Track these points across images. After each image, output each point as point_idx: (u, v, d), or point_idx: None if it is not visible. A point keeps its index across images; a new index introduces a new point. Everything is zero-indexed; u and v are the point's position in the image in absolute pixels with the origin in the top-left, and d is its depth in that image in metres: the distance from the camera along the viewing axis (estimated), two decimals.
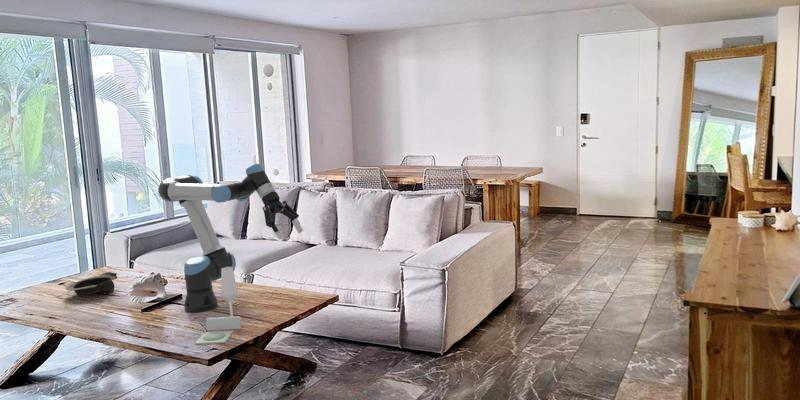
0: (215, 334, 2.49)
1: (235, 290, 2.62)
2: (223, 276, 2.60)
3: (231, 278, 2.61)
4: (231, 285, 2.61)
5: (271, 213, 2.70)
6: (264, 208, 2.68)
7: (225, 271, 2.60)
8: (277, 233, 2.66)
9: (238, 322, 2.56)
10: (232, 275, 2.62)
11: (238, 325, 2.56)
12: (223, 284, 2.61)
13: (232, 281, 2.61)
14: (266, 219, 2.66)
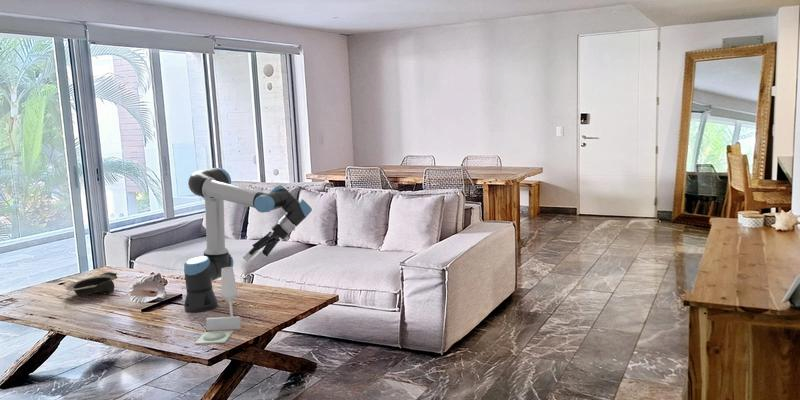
0: (215, 334, 2.49)
1: (235, 290, 2.62)
2: (223, 276, 2.60)
3: (231, 278, 2.61)
4: (231, 285, 2.61)
5: None
6: (270, 234, 2.67)
7: (225, 271, 2.60)
8: (248, 254, 2.65)
9: (238, 322, 2.56)
10: (232, 275, 2.62)
11: (238, 325, 2.56)
12: (223, 284, 2.61)
13: (232, 281, 2.61)
14: (260, 241, 2.65)
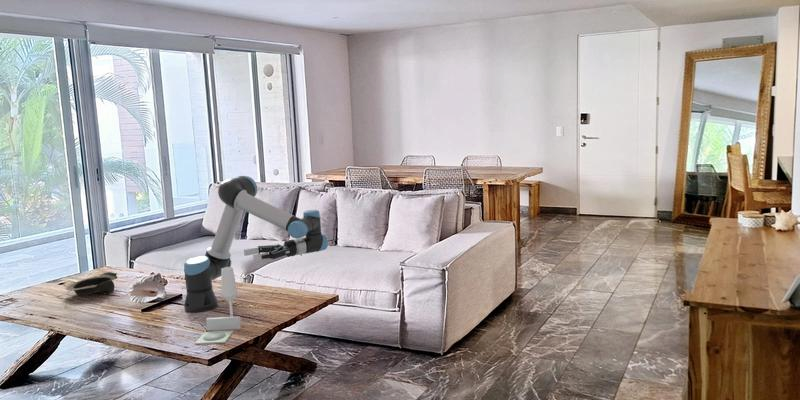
0: (215, 334, 2.49)
1: (235, 290, 2.62)
2: (223, 276, 2.60)
3: (231, 278, 2.61)
4: (231, 285, 2.61)
5: (278, 251, 2.69)
6: (287, 251, 2.68)
7: (225, 271, 2.60)
8: (259, 256, 2.62)
9: (238, 322, 2.56)
10: (232, 275, 2.62)
11: (238, 325, 2.56)
12: (223, 284, 2.61)
13: (232, 281, 2.61)
14: (278, 254, 2.64)
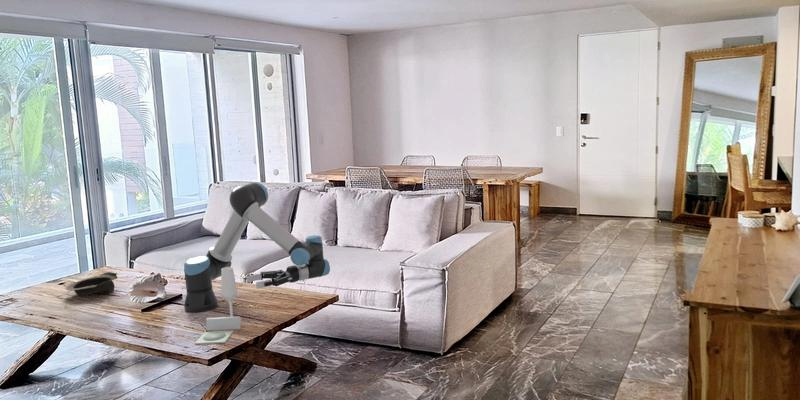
0: (215, 334, 2.49)
1: (235, 290, 2.62)
2: (223, 276, 2.60)
3: (231, 278, 2.61)
4: (231, 285, 2.61)
5: (281, 277, 2.71)
6: (290, 278, 2.70)
7: (225, 271, 2.60)
8: (262, 283, 2.63)
9: (238, 322, 2.56)
10: (232, 275, 2.62)
11: (238, 325, 2.56)
12: (223, 284, 2.61)
13: (232, 281, 2.61)
14: (280, 281, 2.65)
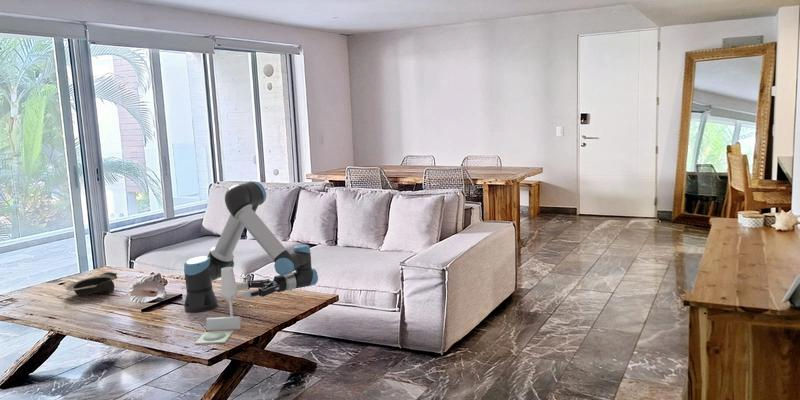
0: (215, 334, 2.49)
1: (235, 290, 2.62)
2: (223, 276, 2.60)
3: (231, 278, 2.61)
4: (231, 285, 2.61)
5: (268, 287, 2.68)
6: (277, 288, 2.67)
7: (225, 271, 2.60)
8: (249, 293, 2.60)
9: (238, 322, 2.56)
10: (232, 275, 2.62)
11: (238, 325, 2.56)
12: (223, 284, 2.61)
13: (232, 281, 2.61)
14: (267, 291, 2.62)
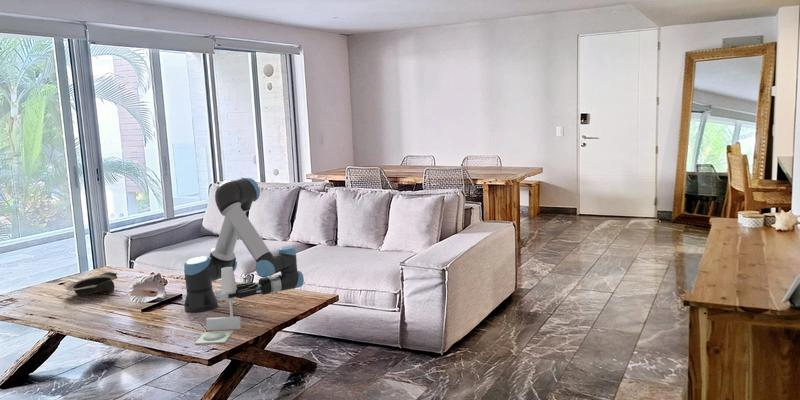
0: (215, 334, 2.49)
1: (235, 290, 2.62)
2: (223, 276, 2.60)
3: (231, 278, 2.61)
4: (231, 285, 2.61)
5: (250, 290, 2.65)
6: (258, 291, 2.64)
7: (225, 271, 2.60)
8: (226, 295, 2.59)
9: (238, 322, 2.56)
10: (232, 275, 2.62)
11: (238, 325, 2.56)
12: (223, 284, 2.61)
13: (232, 281, 2.61)
14: (245, 293, 2.61)
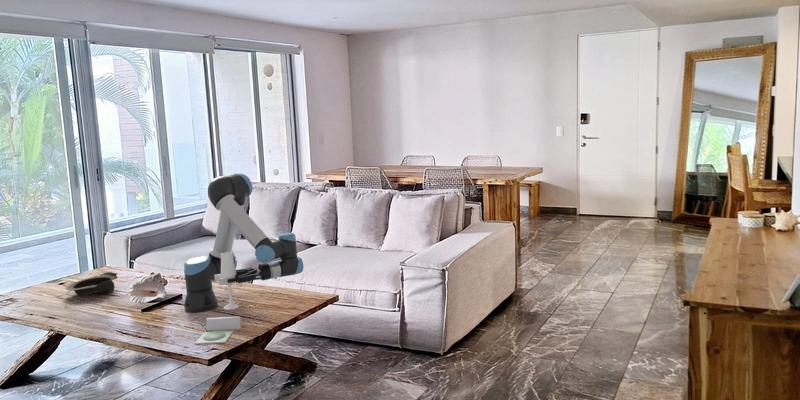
0: (215, 334, 2.49)
1: (234, 275, 2.61)
2: (222, 261, 2.59)
3: (231, 263, 2.60)
4: (230, 270, 2.60)
5: (249, 275, 2.64)
6: (257, 276, 2.62)
7: (225, 256, 2.59)
8: (225, 280, 2.58)
9: (238, 322, 2.56)
10: (232, 260, 2.60)
11: (238, 325, 2.56)
12: (222, 269, 2.59)
13: (231, 266, 2.60)
14: (245, 278, 2.59)
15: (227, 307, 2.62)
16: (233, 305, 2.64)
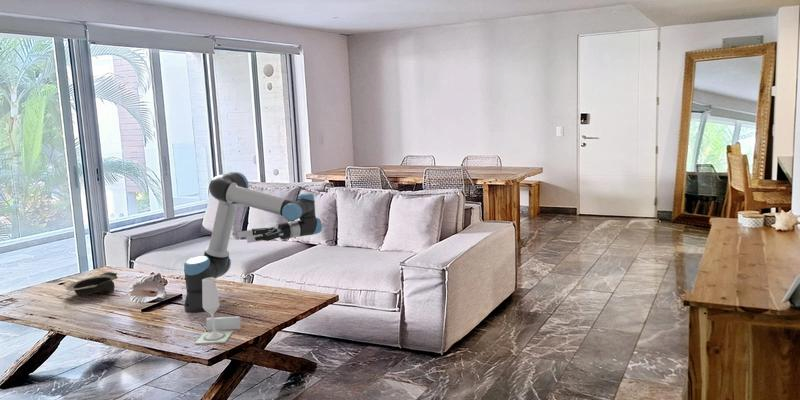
0: None
1: (217, 303, 2.43)
2: (204, 288, 2.41)
3: (213, 290, 2.42)
4: (213, 297, 2.42)
5: None
6: (281, 234, 2.68)
7: (206, 282, 2.41)
8: (253, 237, 2.62)
9: (238, 322, 2.56)
10: (214, 286, 2.43)
11: (238, 325, 2.56)
12: (204, 296, 2.42)
13: (214, 293, 2.42)
14: (271, 236, 2.64)
15: (210, 337, 2.45)
16: (217, 334, 2.46)
